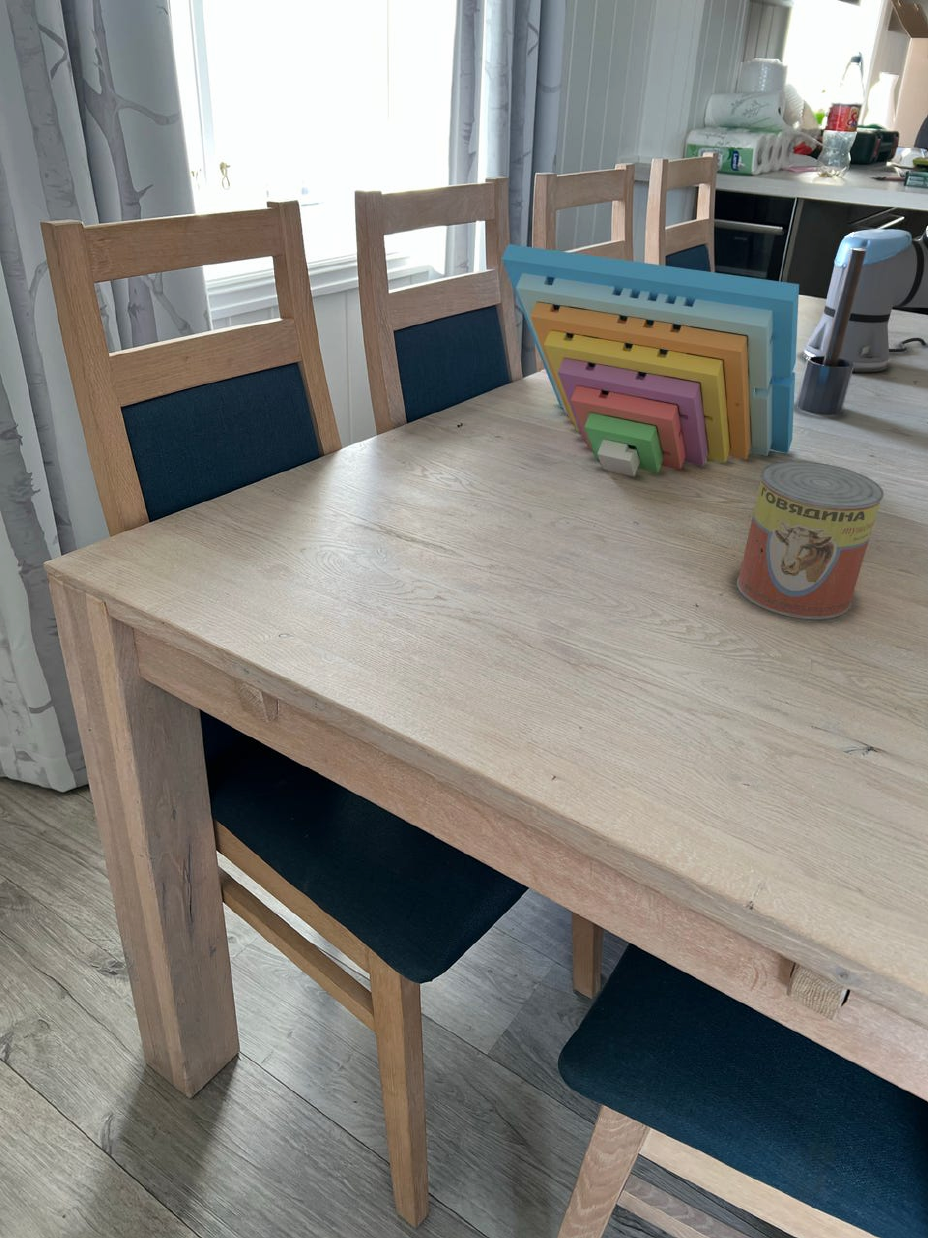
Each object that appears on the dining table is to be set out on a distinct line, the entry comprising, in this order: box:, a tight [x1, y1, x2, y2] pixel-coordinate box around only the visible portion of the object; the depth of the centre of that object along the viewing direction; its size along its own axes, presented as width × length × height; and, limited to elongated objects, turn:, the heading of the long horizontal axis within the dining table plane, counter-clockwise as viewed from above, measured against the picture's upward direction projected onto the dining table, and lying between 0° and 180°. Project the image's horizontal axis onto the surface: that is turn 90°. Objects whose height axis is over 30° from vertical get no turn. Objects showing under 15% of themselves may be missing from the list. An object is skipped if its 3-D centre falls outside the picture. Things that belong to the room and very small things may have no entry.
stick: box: [823, 248, 866, 367], centre depth 145 cm, size 2×2×24 cm
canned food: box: [736, 460, 885, 621], centre depth 93 cm, size 11×11×12 cm
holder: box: [795, 356, 854, 416], centre depth 149 cm, size 7×7×8 cm
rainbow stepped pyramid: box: [501, 243, 800, 478], centre depth 123 cm, size 35×18×35 cm
